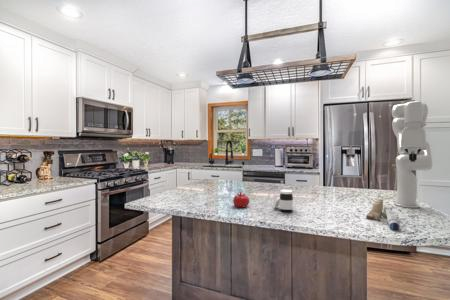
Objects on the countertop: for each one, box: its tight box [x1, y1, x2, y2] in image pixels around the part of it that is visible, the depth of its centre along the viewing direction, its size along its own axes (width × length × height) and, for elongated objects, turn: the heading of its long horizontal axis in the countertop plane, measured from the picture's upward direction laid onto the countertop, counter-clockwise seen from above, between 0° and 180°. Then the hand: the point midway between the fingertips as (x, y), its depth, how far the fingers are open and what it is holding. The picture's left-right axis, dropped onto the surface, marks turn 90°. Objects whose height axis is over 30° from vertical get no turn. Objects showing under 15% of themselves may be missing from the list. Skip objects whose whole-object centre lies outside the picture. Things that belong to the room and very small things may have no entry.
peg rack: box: [365, 198, 384, 221], centre depth 128 cm, size 16×6×8 cm, turn 140°
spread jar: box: [273, 189, 294, 213], centre depth 141 cm, size 12×11×12 cm
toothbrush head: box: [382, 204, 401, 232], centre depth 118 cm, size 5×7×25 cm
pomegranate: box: [232, 191, 250, 208], centre depth 150 cm, size 10×10×9 cm
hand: (412, 161), depth 124 cm, fingers closed
